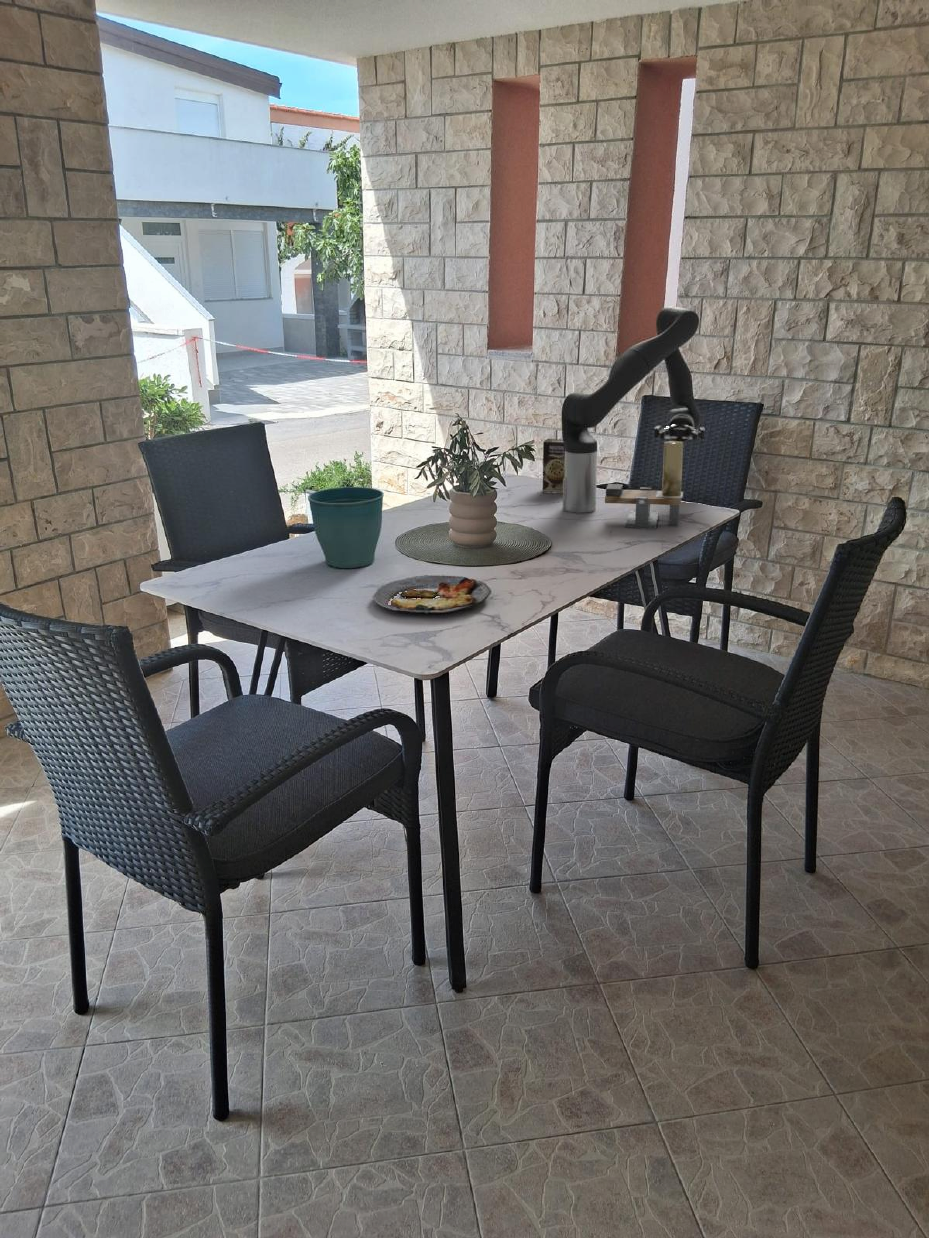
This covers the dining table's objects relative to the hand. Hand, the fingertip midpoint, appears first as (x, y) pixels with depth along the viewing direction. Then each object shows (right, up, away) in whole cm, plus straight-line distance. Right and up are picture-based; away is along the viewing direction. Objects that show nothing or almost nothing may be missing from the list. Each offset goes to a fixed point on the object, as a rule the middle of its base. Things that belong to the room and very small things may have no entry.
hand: (678, 436), depth 264 cm
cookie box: (-31, -11, +32) cm, 46 cm away
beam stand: (-8, -25, -6) cm, 27 cm away
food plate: (-67, -48, -61) cm, 103 cm away
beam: (-11, -18, -8) cm, 23 cm away
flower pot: (-89, -38, -34) cm, 102 cm away
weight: (-4, -18, -10) cm, 21 cm away
